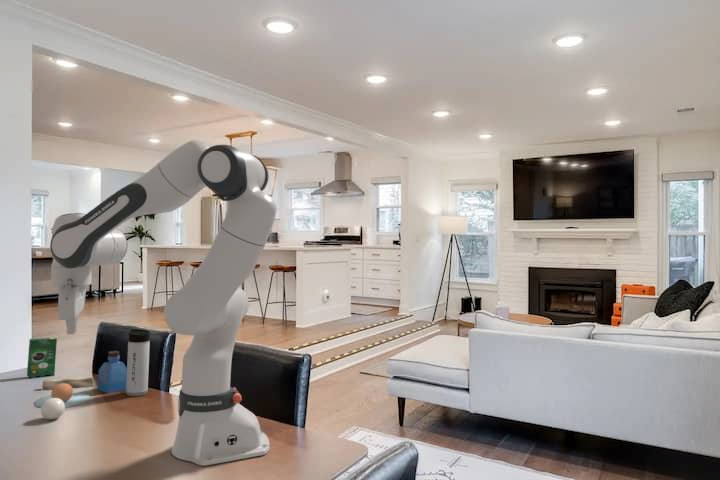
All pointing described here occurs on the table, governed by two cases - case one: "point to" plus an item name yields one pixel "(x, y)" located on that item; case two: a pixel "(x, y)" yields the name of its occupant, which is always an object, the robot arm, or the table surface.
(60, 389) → the object ball
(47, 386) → the rail
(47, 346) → the coffee box
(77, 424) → the table surface
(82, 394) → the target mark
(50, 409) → the cue ball
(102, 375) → the perfume bottle
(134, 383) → the travel mug
